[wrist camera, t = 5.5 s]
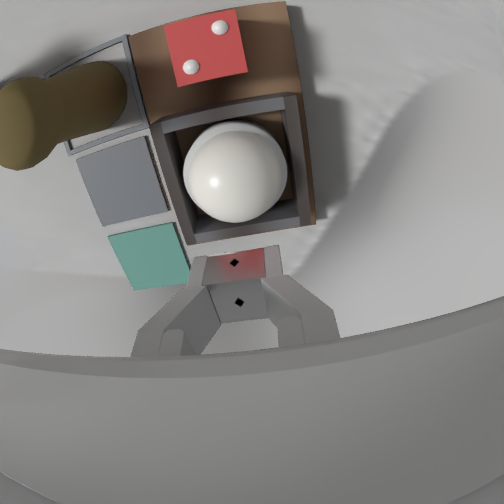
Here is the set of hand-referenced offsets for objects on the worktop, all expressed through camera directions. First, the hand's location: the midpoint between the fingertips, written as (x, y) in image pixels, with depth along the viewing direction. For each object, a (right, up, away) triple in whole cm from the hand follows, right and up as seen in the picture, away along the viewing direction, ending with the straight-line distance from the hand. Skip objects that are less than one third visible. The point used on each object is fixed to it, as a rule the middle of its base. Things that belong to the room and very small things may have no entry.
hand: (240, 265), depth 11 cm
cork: (-12, +13, +8) cm, 19 cm away
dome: (-1, +7, +11) cm, 13 cm away
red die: (-2, +14, +6) cm, 15 cm away
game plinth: (-1, +10, +10) cm, 14 cm away
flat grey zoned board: (-11, +6, +12) cm, 18 cm away
